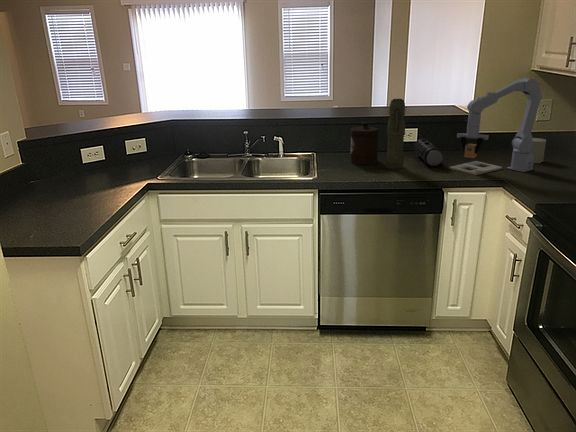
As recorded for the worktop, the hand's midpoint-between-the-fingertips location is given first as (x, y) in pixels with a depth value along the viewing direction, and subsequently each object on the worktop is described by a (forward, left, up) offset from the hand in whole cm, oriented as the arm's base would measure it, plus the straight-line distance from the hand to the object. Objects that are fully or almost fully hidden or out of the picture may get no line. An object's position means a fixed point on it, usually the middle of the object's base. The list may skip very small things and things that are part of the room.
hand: (470, 152), depth 236 cm
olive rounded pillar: (+27, +25, -9) cm, 38 cm away
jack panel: (0, -5, -9) cm, 10 cm away
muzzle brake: (+25, +3, -9) cm, 27 cm away
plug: (0, 0, -2) cm, 2 cm away
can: (-8, -41, -9) cm, 43 cm away
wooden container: (+47, +29, -9) cm, 56 cm away
